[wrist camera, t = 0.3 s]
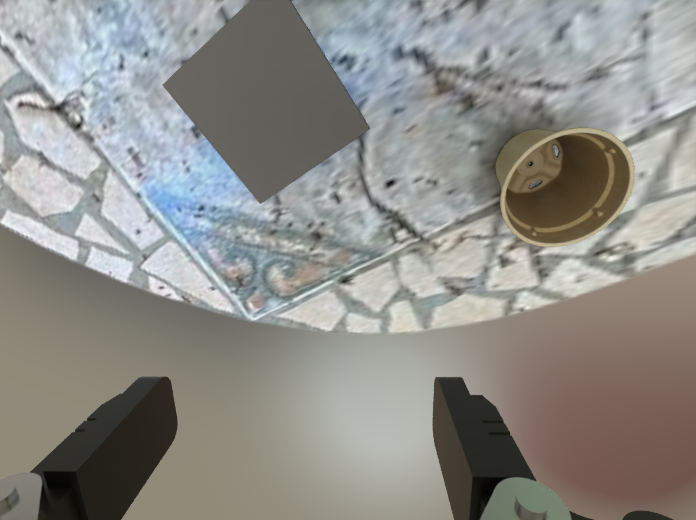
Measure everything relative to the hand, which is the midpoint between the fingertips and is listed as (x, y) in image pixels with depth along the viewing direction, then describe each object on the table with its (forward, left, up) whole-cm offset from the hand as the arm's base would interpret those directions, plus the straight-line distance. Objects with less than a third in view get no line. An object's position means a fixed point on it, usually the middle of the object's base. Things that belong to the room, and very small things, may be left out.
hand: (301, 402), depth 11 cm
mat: (-8, -5, -29) cm, 31 cm away
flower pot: (+10, +13, -30) cm, 34 cm away
